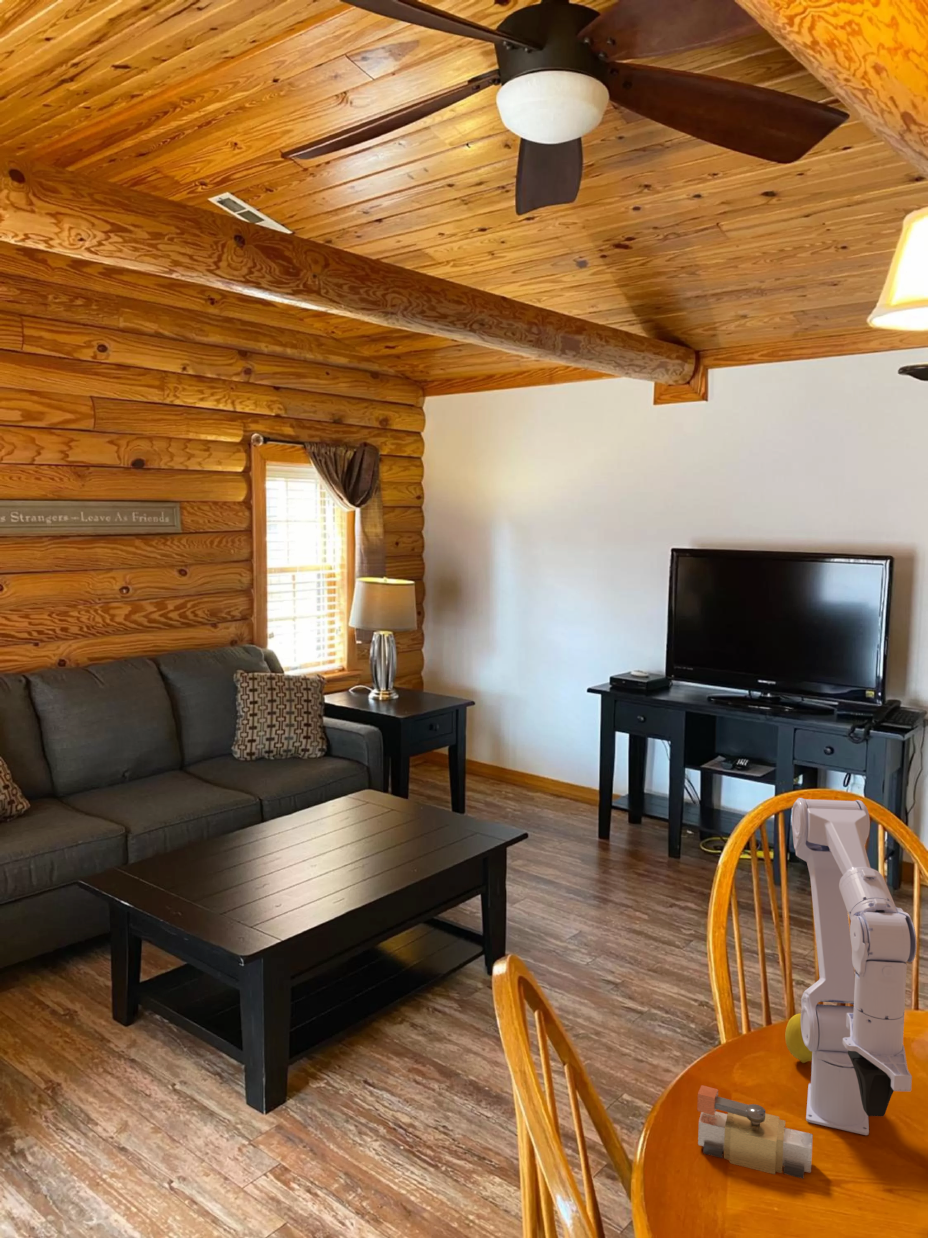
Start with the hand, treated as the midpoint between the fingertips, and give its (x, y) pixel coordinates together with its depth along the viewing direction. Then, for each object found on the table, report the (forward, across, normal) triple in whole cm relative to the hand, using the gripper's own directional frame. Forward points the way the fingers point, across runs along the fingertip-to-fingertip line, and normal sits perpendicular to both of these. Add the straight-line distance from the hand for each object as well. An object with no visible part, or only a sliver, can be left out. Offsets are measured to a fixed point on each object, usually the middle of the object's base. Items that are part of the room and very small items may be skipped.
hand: (873, 1113), depth 116 cm
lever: (+5, -6, -16) cm, 18 cm away
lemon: (+10, -28, +1) cm, 29 cm away
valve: (+9, -5, -13) cm, 17 cm away
